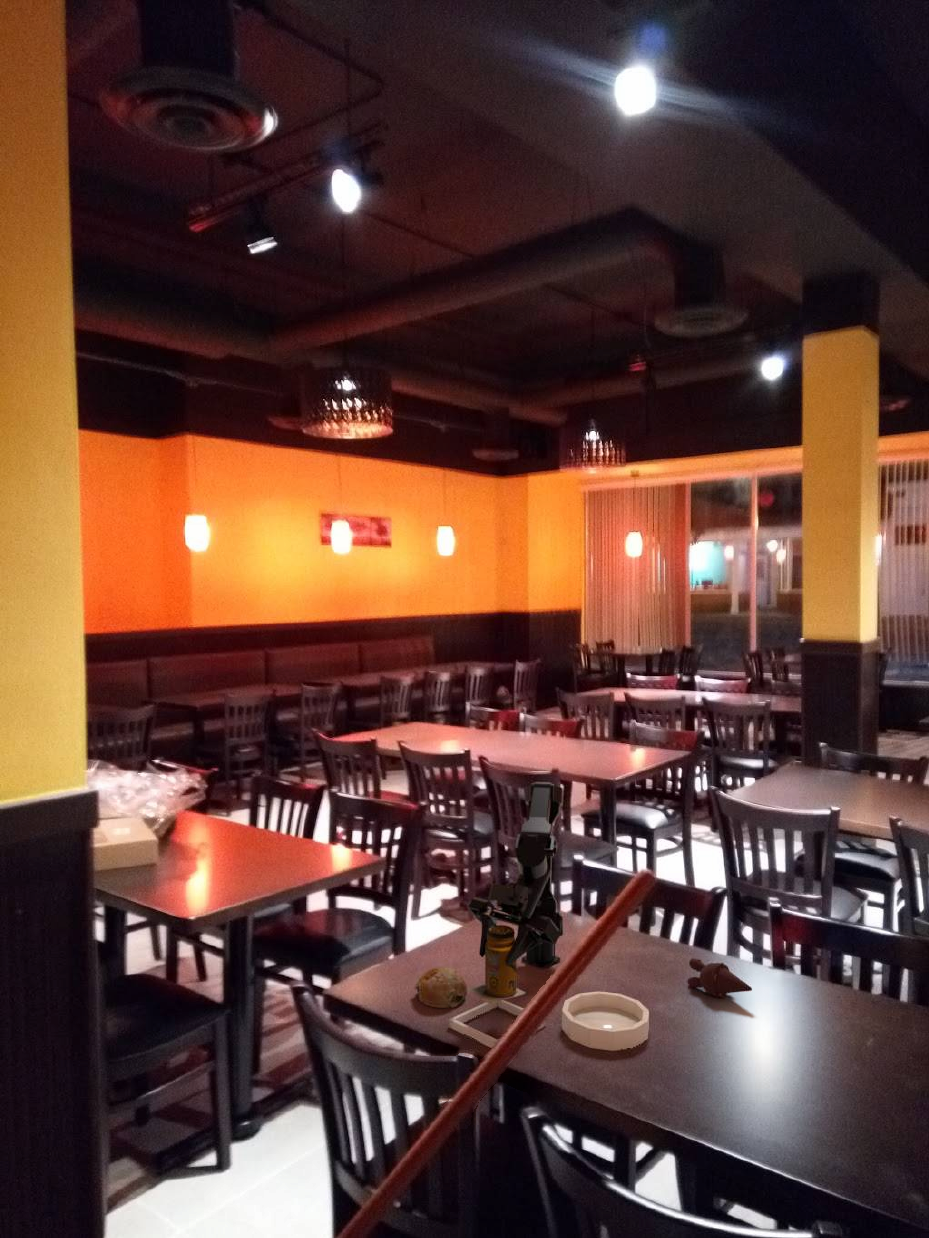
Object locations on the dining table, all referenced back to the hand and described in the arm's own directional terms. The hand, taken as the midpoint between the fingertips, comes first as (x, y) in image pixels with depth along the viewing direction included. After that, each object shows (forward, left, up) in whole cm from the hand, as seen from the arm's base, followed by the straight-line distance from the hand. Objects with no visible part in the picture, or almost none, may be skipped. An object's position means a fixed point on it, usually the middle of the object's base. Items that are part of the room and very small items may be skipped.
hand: (493, 960), depth 169 cm
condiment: (-1, 0, -7) cm, 7 cm away
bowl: (-15, +15, -13) cm, 25 cm away
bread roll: (-2, -17, -14) cm, 22 cm away
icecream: (-44, +23, -13) cm, 51 cm away
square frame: (-1, 0, -13) cm, 13 cm away
